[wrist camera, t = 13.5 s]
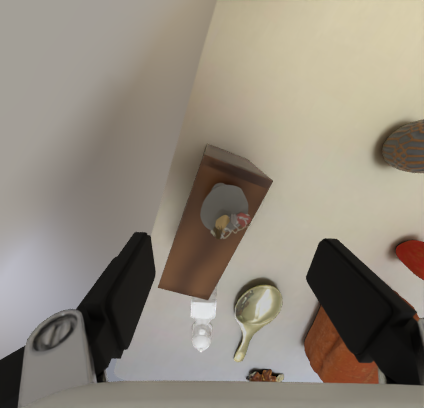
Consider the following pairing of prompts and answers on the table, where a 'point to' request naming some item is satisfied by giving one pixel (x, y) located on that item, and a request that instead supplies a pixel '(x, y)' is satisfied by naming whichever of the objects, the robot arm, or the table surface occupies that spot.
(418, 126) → the vase
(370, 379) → the bread
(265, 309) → the spoon
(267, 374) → the pastry
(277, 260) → the table surface
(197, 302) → the container set
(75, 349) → the robot arm
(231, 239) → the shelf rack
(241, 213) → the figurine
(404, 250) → the apple
